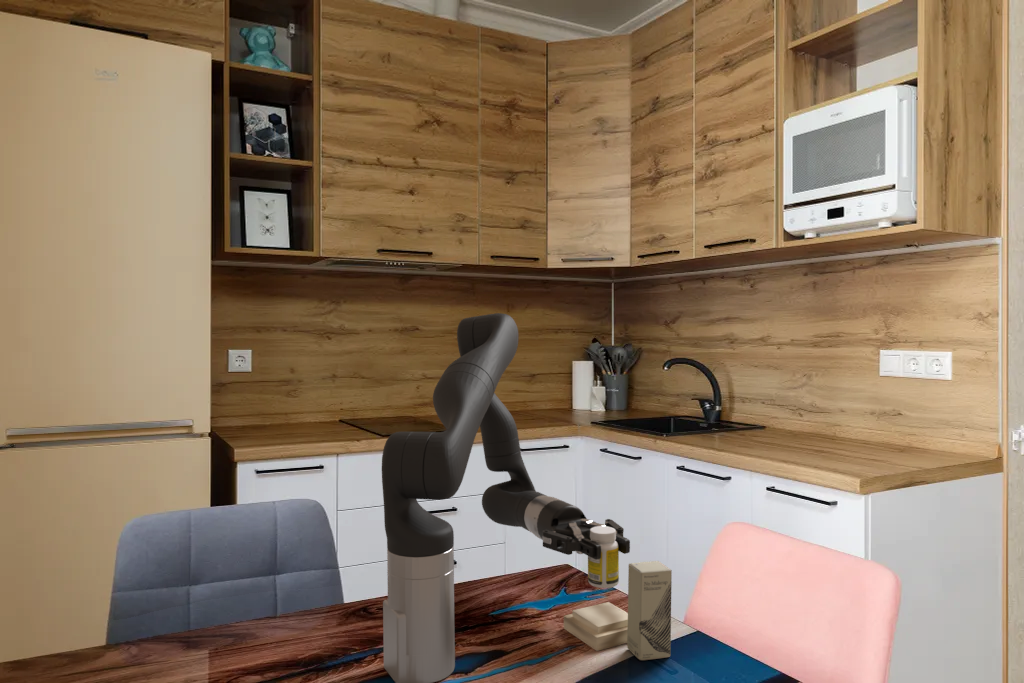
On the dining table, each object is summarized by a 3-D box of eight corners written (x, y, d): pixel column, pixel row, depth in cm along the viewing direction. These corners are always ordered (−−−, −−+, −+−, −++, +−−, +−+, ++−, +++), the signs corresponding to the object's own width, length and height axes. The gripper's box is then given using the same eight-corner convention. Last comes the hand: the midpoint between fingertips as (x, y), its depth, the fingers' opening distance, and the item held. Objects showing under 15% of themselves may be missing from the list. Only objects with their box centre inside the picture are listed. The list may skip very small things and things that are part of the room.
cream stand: (596, 651, 104) (596, 630, 104) (563, 628, 112) (563, 609, 112) (645, 637, 109) (645, 618, 109) (609, 616, 117) (609, 598, 117)
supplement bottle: (617, 577, 113) (618, 525, 112) (619, 589, 108) (619, 534, 108) (587, 576, 113) (587, 524, 113) (587, 588, 108) (587, 534, 108)
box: (639, 662, 101) (639, 572, 101) (626, 648, 105) (626, 562, 105) (673, 657, 102) (673, 568, 102) (658, 644, 107) (658, 559, 106)
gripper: (518, 505, 119) (574, 532, 104) (588, 494, 126) (650, 518, 111) (518, 549, 120) (574, 583, 105) (588, 536, 126) (650, 566, 112)
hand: (613, 549), depth 108 cm, fingers closed on supplement bottle, 4 cm apart
